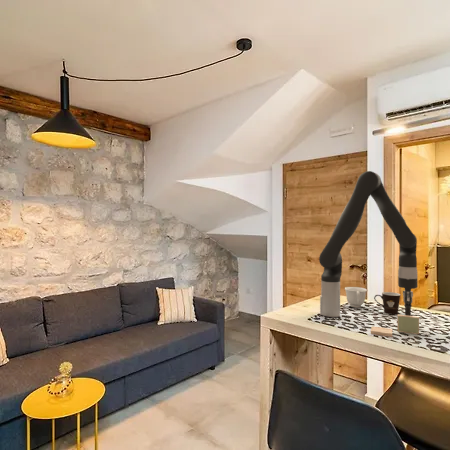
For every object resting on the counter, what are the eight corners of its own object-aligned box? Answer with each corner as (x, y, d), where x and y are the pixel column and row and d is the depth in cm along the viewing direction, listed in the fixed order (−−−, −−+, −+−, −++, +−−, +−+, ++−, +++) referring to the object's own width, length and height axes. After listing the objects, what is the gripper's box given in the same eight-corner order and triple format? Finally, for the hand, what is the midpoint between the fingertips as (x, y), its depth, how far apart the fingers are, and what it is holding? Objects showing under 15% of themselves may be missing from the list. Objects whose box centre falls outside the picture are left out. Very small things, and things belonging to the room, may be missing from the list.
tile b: (397, 331, 139) (397, 315, 139) (397, 330, 141) (397, 314, 141) (419, 334, 136) (419, 317, 136) (418, 333, 137) (418, 316, 137)
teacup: (346, 309, 174) (346, 291, 174) (342, 303, 189) (342, 286, 189) (370, 311, 172) (370, 292, 172) (364, 304, 186) (365, 287, 186)
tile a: (371, 330, 142) (370, 334, 136) (371, 326, 142) (370, 330, 136) (392, 332, 138) (392, 337, 132) (392, 329, 138) (392, 333, 132)
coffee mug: (403, 313, 168) (403, 294, 168) (395, 316, 163) (395, 296, 163) (381, 308, 177) (381, 290, 177) (373, 310, 172) (373, 292, 172)
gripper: (398, 274, 152) (398, 311, 152) (398, 278, 140) (398, 318, 140) (416, 275, 148) (416, 313, 148) (418, 279, 137) (418, 320, 137)
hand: (407, 315), depth 144 cm, fingers closed
